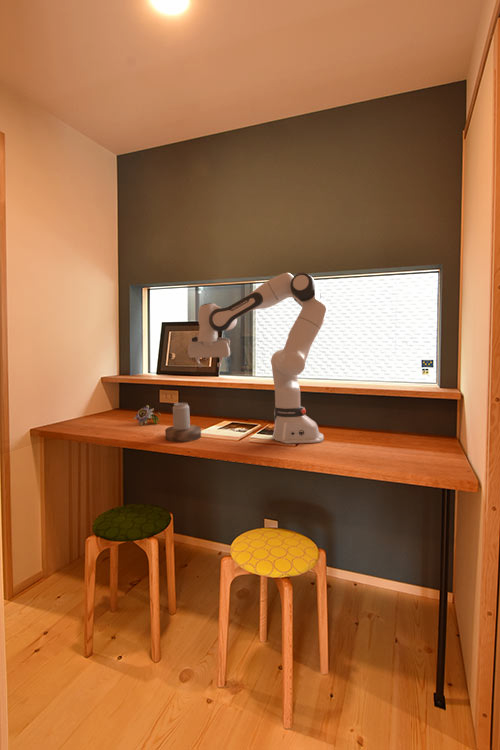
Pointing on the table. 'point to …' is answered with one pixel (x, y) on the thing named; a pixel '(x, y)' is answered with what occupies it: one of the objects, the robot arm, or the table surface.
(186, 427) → the can
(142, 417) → the passion flower
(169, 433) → the plinth
